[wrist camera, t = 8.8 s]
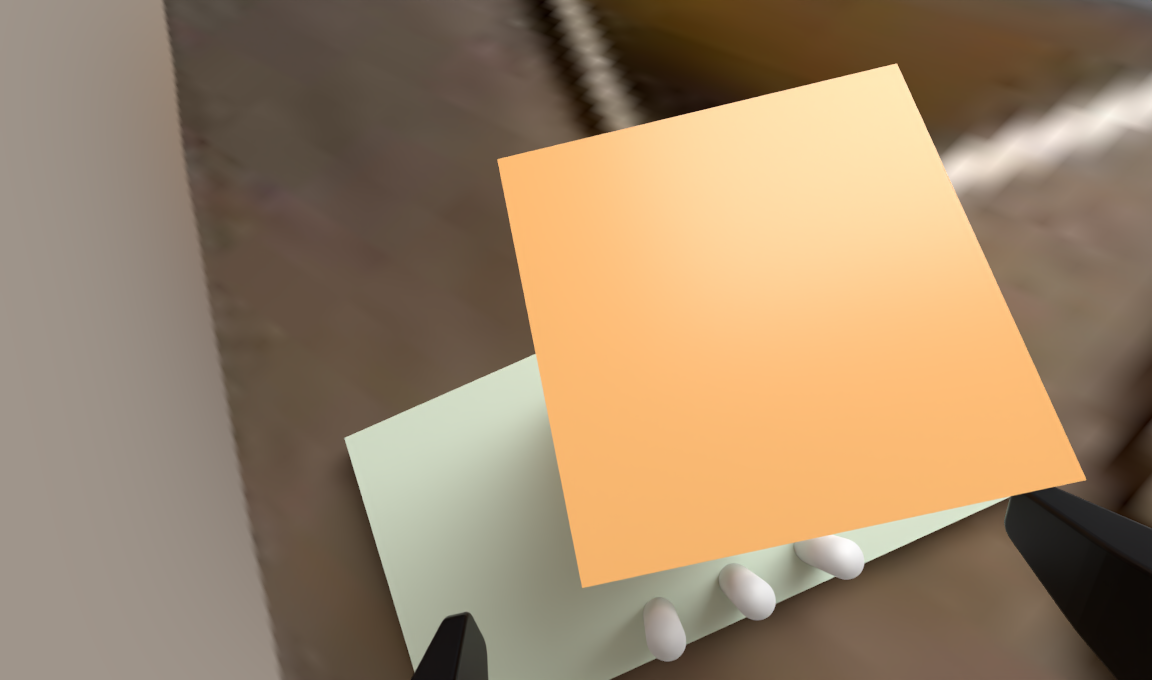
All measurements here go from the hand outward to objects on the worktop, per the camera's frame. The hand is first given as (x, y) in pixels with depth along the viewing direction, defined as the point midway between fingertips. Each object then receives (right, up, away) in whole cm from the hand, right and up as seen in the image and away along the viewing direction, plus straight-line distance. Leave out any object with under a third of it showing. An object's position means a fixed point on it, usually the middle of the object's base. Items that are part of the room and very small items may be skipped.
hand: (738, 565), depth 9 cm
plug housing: (0, +1, +9) cm, 9 cm away
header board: (+1, 0, +10) cm, 10 cm away
